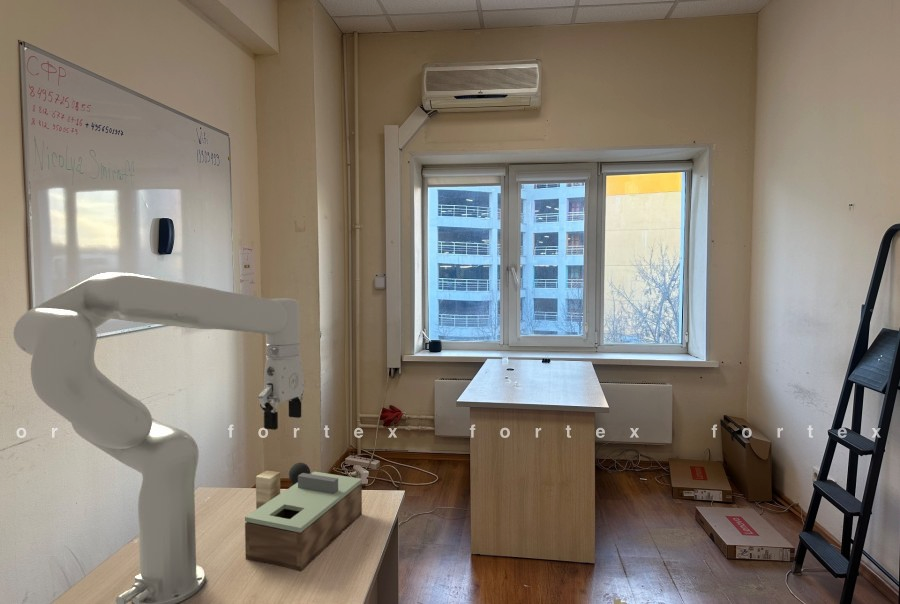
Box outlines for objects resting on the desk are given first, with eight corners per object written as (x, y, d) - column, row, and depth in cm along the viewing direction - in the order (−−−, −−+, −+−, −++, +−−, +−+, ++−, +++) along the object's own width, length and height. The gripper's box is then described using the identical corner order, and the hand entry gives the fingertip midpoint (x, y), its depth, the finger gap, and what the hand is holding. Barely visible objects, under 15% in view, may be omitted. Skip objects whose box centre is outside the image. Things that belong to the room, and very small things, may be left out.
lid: (300, 532, 103) (300, 513, 103) (244, 521, 107) (244, 503, 107) (361, 482, 127) (361, 467, 127) (314, 475, 132) (314, 460, 132)
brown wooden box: (301, 571, 103) (300, 534, 103) (245, 558, 108) (245, 522, 107) (361, 514, 128) (361, 483, 127) (314, 505, 132) (314, 476, 132)
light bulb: (298, 505, 132) (298, 468, 132) (284, 500, 135) (284, 464, 135) (314, 497, 137) (314, 462, 136) (300, 492, 140) (300, 457, 139)
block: (270, 527, 121) (269, 478, 121) (256, 524, 122) (255, 476, 122) (280, 519, 125) (280, 472, 124) (267, 516, 126) (266, 470, 126)
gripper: (274, 357, 108) (275, 435, 109) (316, 346, 125) (316, 414, 126) (245, 355, 110) (246, 432, 111) (289, 345, 127) (290, 411, 127)
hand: (283, 422), depth 118 cm, fingers open, 9 cm apart
